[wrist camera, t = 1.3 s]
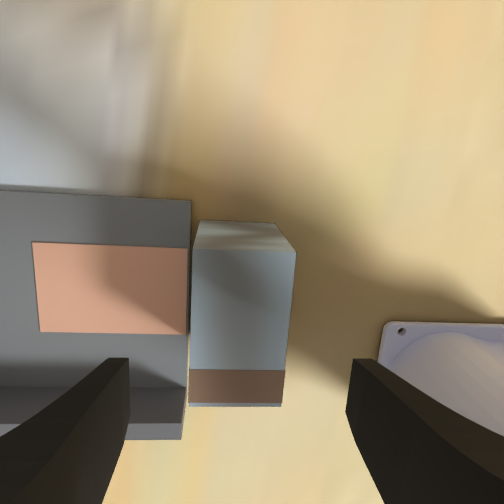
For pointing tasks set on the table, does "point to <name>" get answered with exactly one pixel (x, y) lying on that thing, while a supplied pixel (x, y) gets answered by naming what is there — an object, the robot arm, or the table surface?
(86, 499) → the robot arm
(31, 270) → the tray
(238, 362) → the blue block
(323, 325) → the table surface
